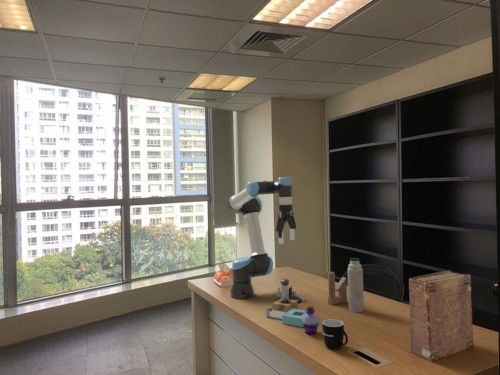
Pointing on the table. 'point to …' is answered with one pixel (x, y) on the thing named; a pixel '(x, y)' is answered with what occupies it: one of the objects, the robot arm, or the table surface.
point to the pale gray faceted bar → (274, 313)
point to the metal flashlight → (285, 291)
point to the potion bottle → (310, 321)
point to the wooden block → (337, 290)
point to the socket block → (294, 317)
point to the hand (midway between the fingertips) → (286, 241)
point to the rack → (285, 305)
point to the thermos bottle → (355, 286)
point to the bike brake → (291, 294)
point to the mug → (334, 333)
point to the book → (440, 314)
